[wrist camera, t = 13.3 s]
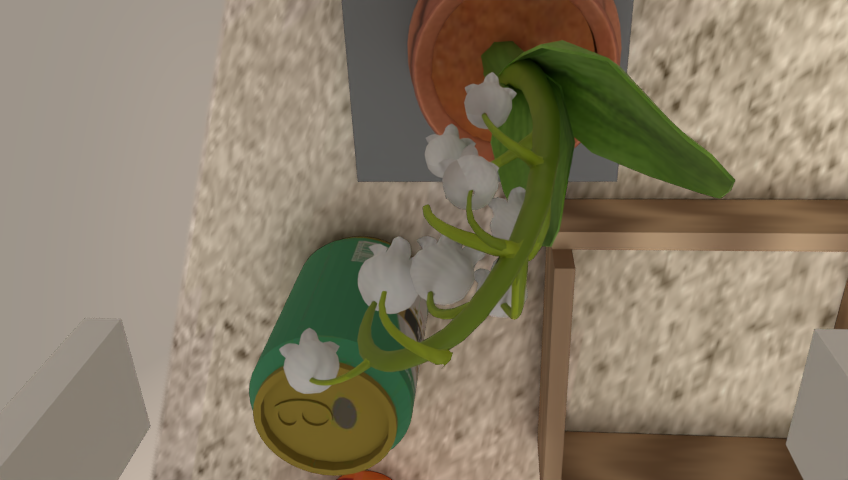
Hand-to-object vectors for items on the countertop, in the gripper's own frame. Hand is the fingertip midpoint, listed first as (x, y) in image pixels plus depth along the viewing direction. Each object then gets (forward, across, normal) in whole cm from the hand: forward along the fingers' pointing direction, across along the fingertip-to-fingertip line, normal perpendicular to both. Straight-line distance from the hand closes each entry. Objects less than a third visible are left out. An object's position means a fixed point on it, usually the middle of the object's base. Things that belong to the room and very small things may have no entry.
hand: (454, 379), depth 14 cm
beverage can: (+27, -7, -14) cm, 31 cm away
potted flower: (+25, +1, 0) cm, 25 cm away
